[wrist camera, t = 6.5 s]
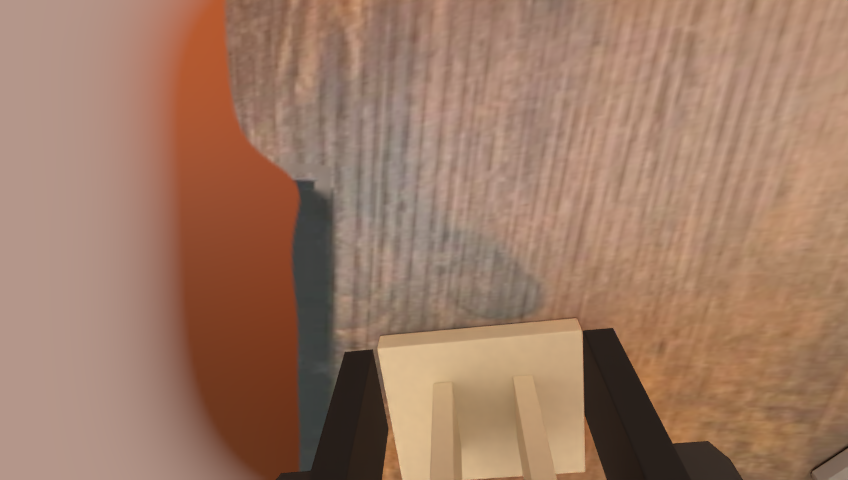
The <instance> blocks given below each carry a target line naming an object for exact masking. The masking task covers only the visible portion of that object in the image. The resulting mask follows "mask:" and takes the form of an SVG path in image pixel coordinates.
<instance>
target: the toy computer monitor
mask: <svg viewBox="0 0 848 480" xmlns="http://www.w3.org/2000/svg"><path fill="white" fill-rule="evenodd" d="M811 477H812V478H813V480H848V448H847V449H846V450H844V451H843V452H841V453H840V454H838V455H837V456H835V457H833V458H832V459H830V460H829V461H827V462H826V463H824V464H823V465H821V466H820V467H818V468H817V469H815V470H814V471H812V475H811Z"/></svg>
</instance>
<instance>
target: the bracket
mask: <svg viewBox="0 0 848 480" xmlns="http://www.w3.org/2000/svg"><path fill="white" fill-rule="evenodd" d="M377 350H378V355H379V360H380V366H381V371H382V376H383V381H384V386H385V392H386V397H387V402H388V407H389V413H390V418H391V423H392V428H393V434H394V439H395V444H396V449H397V455H398V460H399V465H400V470H401V476H402V480H473V479H487V478H502V477H517V476H523V478H524V480H557V476H556V474H562V473H577V472H585V435H584V386H583V338H582V329H581V327H580V324H579V322H578V320H577V318H572V319H561V320H550V321H539V322H528V323H517V324H506V325H495V326H484V327H473V328H462V329H451V330H440V331H429V332H418V333H407V334H396V335H385V336H380V339H379V343H378V348H377Z"/></svg>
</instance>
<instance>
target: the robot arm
mask: <svg viewBox="0 0 848 480" xmlns="http://www.w3.org/2000/svg"><path fill="white" fill-rule="evenodd" d="M583 359H584V413H585V417H586V420H587V422H588V425H589V428H590V431H591V434H592V437H593V440H594V443H595V446H596V449H597V452H598V455H599V458H600V461H601V464H602V467H603V470H604V472H605V475H606V478H607V480H743V479H742V478H741V476H740V474H739V473H738V471H737V470H736V468H735V466H734V465H733V463H732V462H731V460H730V459H729V458H728V457H727V456H725V455H724V454H723V453H722V452H720V451H719V450H718V449H717V448H716V447H714V446H713V445H712V444H711V443H710V442H708V441H703V442H689V443H675V444H672V442H671V440H670V438H669V436H668V434H667V432H666V430H665V428H664V426H663V424H662V422H661V420H660V418H659V416H658V415H657V413H656V411H655V409H654V407H653V405H652V403H651V401H650V399H649V397H648V395H647V393H646V391H645V389H644V387H643V386H642V384H641V382H640V380H639V378H638V376H637V374H636V372H635V370H634V368H633V366H632V364H631V362H630V360H629V358H628V357H627V355H626V353H625V351H624V349H623V347H622V345H621V343H620V341H619V339H618V337H617V335H616V333H615V331H614V329H613V328H608V329H596V330H585V331H583ZM387 436H388V424H387V419H386V414H385V409H384V404H383V399H382V394H381V389H380V384H379V379H378V374H377V369H376V364H375V359H374V353H373V350H362V351H351V352H345V354H344V357H343V361H342V364H341V368H340V371H339V375H338V378H337V382H336V385H335V389H334V392H333V396H332V399H331V403H330V406H329V410H328V413H327V417H326V420H325V424H324V427H323V431H322V434H321V438H320V441H319V445H318V448H317V452H316V455H315V459H314V462H313V466H312V469H311V471H305V472H291V473H281V474H280V475H279V477H278V478H277V479H276V480H382V474H383V466H384V459H385V451H386V443H387Z"/></svg>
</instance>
